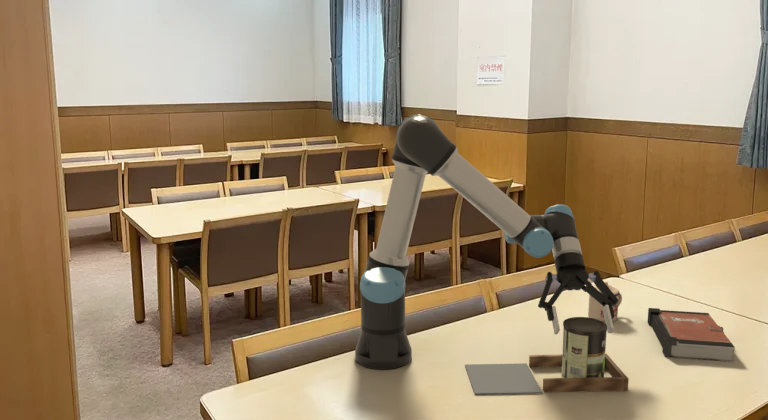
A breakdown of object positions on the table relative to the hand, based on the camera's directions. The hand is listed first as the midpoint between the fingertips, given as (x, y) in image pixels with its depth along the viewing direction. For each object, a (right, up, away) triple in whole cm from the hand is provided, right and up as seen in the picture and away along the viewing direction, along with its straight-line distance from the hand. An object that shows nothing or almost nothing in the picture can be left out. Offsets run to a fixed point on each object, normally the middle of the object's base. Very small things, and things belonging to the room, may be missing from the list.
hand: (584, 331), depth 163 cm
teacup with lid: (+19, -3, +40) cm, 44 cm away
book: (+36, -7, +21) cm, 42 cm away
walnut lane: (-3, -11, -2) cm, 12 cm away
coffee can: (-1, -11, -2) cm, 11 cm away
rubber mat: (-21, -11, -2) cm, 24 cm away
